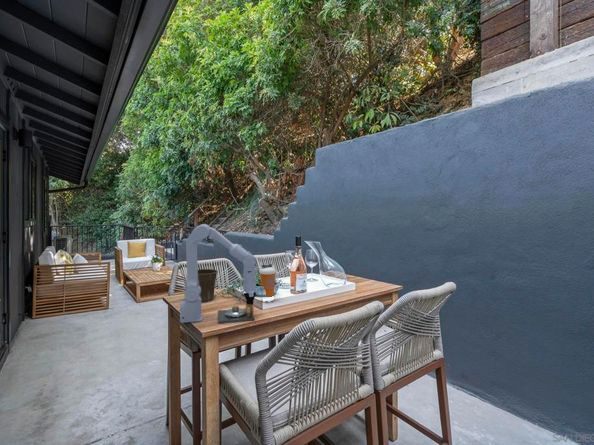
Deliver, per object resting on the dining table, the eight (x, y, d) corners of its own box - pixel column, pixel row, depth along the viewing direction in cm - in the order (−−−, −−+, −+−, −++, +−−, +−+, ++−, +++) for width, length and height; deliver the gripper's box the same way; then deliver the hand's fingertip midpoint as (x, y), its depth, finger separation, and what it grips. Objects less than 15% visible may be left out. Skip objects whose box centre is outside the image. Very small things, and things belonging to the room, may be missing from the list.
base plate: (218, 323, 143) (218, 321, 143) (218, 312, 158) (217, 310, 158) (254, 320, 147) (254, 318, 146) (250, 310, 162) (250, 307, 162)
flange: (222, 316, 148) (221, 307, 147) (227, 310, 158) (227, 300, 157) (251, 317, 147) (251, 307, 147) (255, 310, 157) (255, 301, 157)
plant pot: (217, 295, 192) (217, 268, 192) (218, 302, 177) (217, 273, 176) (188, 297, 188) (188, 269, 188) (186, 304, 172) (186, 274, 172)
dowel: (246, 317, 148) (246, 307, 148) (246, 316, 149) (246, 306, 149) (250, 316, 148) (250, 307, 148) (250, 315, 150) (250, 306, 150)
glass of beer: (256, 300, 180) (256, 264, 179) (269, 297, 186) (269, 263, 185) (265, 304, 173) (265, 266, 172) (279, 301, 179) (278, 265, 178)
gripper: (260, 282, 147) (260, 311, 147) (256, 276, 161) (256, 303, 162) (244, 283, 145) (245, 313, 146) (241, 277, 159) (242, 304, 160)
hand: (250, 308), depth 154 cm, fingers closed, pressing on flange
